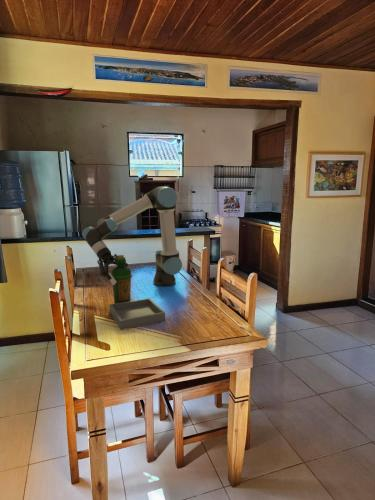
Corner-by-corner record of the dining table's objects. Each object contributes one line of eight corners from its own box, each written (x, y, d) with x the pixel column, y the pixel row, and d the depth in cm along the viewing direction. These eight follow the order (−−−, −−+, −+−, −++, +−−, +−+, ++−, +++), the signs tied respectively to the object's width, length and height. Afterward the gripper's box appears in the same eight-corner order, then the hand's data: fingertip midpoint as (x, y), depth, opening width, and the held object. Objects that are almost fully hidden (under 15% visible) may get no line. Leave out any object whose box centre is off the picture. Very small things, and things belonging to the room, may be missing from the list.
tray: (150, 305, 177) (149, 297, 176) (165, 321, 157) (165, 312, 156) (109, 312, 167) (109, 304, 166) (120, 330, 148) (120, 321, 147)
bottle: (127, 308, 173) (126, 258, 167) (109, 306, 175) (107, 257, 169) (134, 301, 183) (133, 254, 177) (117, 300, 185) (115, 253, 179)
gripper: (113, 250, 192) (133, 278, 188) (81, 259, 170) (103, 290, 166) (119, 243, 188) (140, 271, 184) (88, 250, 167) (111, 282, 163)
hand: (123, 280), depth 175 cm, fingers open, 13 cm apart
